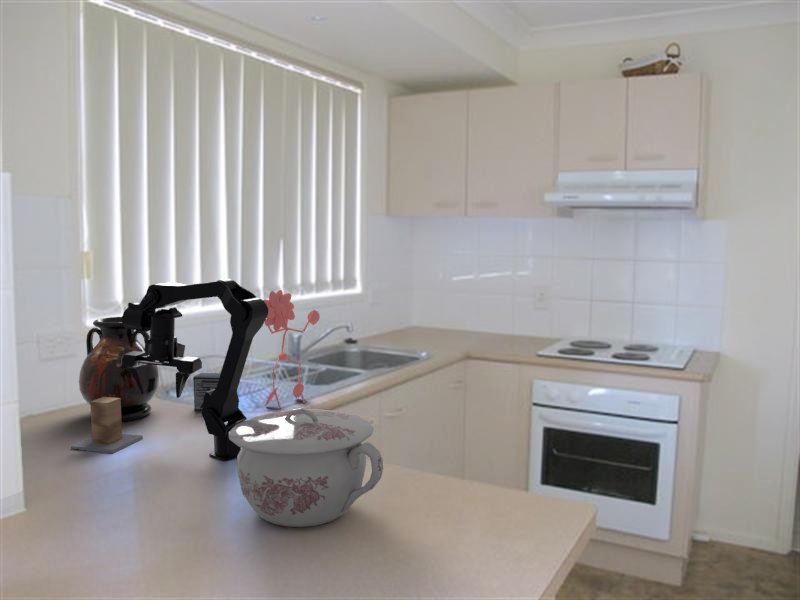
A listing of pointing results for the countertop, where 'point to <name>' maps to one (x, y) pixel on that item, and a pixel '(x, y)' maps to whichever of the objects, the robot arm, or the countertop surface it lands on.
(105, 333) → the amphora vase
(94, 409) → the walnut block
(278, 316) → the figurine
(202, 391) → the small box
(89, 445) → the plate
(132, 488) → the countertop surface
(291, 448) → the chamber pot
